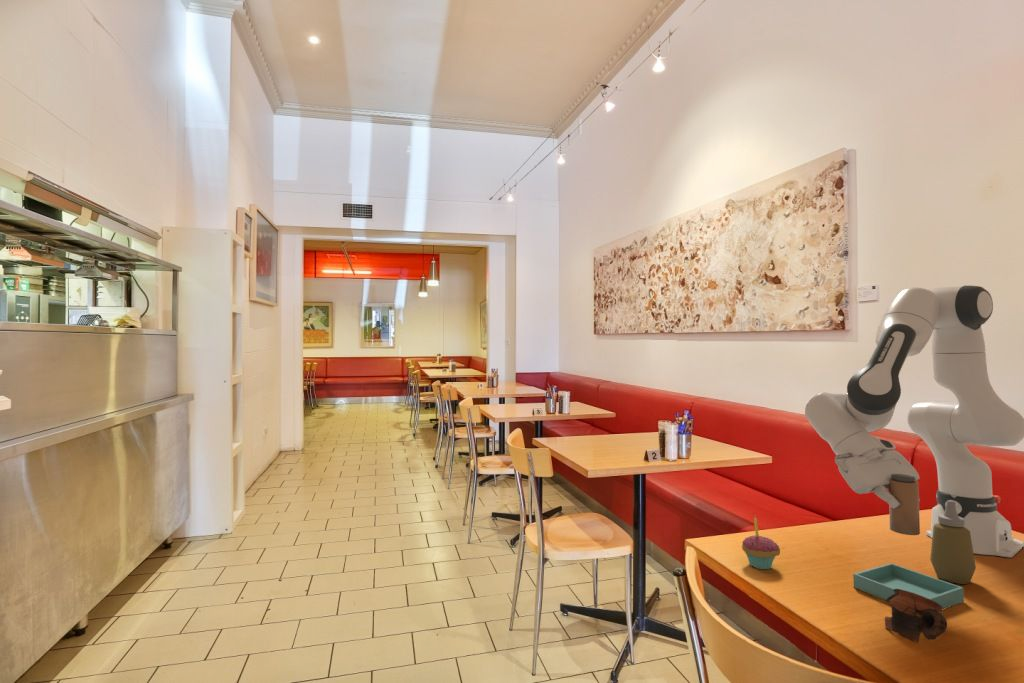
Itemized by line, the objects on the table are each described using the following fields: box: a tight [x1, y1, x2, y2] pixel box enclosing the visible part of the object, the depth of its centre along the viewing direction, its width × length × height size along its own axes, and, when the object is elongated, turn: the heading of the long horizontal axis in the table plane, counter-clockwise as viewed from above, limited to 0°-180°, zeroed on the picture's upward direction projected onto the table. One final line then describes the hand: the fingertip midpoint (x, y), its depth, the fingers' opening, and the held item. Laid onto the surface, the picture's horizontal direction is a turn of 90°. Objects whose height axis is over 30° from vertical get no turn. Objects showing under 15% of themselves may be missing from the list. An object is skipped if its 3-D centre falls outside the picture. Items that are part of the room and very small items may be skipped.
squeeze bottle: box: [930, 501, 977, 585], centre depth 118 cm, size 8×8×18 cm
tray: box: [852, 562, 965, 610], centre depth 110 cm, size 14×14×3 cm
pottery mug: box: [884, 589, 948, 643], centre depth 95 cm, size 12×10×8 cm
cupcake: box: [741, 514, 781, 570], centre depth 126 cm, size 9×8×12 cm
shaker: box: [888, 474, 921, 536], centre depth 111 cm, size 5×5×12 cm
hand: (907, 504), depth 110 cm, fingers closed on shaker, 5 cm apart
